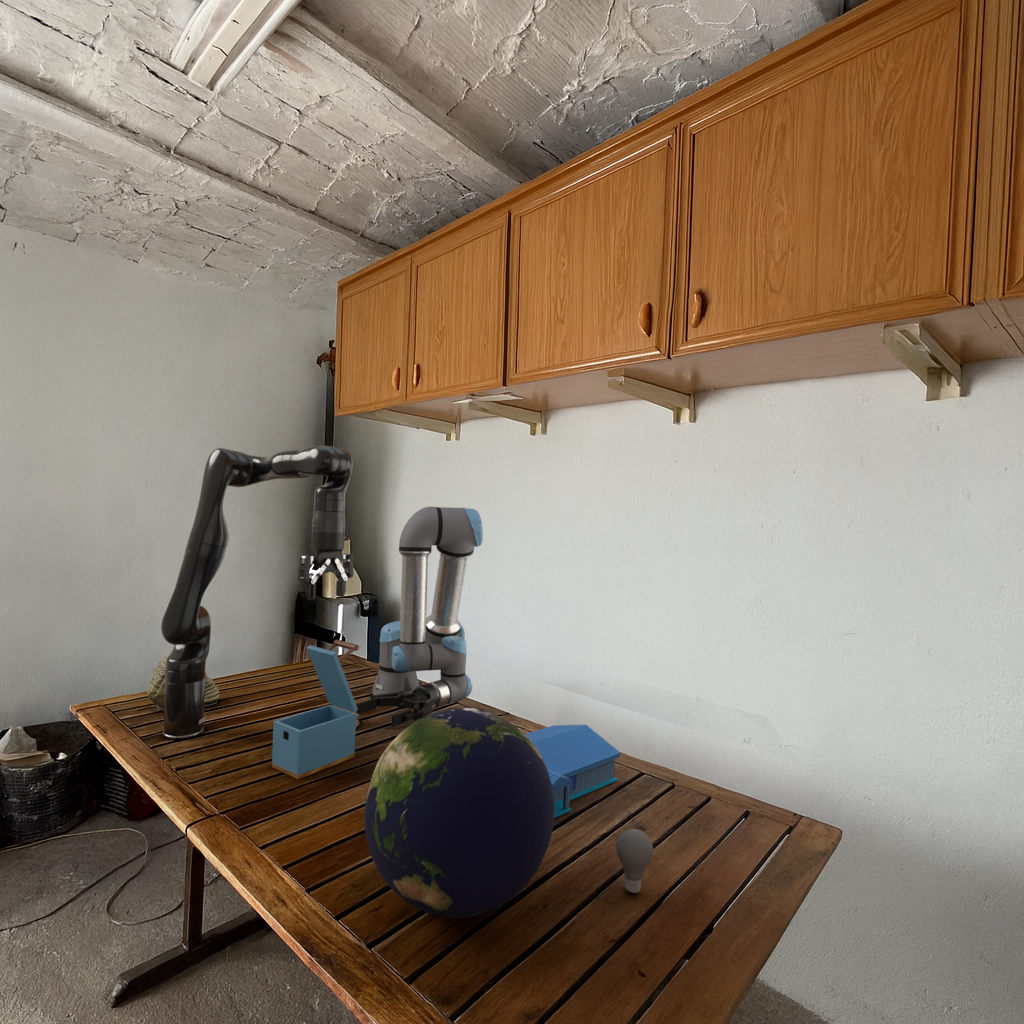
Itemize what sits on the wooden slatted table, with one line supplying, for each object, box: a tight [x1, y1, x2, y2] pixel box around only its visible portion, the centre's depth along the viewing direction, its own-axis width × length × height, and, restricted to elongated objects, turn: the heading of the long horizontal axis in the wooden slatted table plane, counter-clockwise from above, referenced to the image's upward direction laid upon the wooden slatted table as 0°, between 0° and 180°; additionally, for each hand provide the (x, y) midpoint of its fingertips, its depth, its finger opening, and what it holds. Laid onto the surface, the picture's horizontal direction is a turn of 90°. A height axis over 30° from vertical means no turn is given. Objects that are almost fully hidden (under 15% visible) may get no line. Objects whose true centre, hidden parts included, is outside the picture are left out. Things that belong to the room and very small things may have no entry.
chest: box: [271, 704, 357, 780], centre depth 151 cm, size 16×10×11 cm, turn 145°
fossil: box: [147, 654, 221, 712], centre depth 185 cm, size 9×18×15 cm, turn 132°
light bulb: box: [615, 828, 654, 894], centre depth 106 cm, size 6×6×10 cm
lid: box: [306, 639, 360, 712], centre depth 157 cm, size 17×10×8 cm
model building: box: [524, 724, 622, 819], centre depth 141 cm, size 39×24×10 cm, turn 132°
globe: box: [363, 707, 555, 919], centre depth 101 cm, size 30×30×30 cm
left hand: (325, 597), depth 151 cm, fingers open, 8 cm apart
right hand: (374, 714), depth 166 cm, fingers open, 13 cm apart
